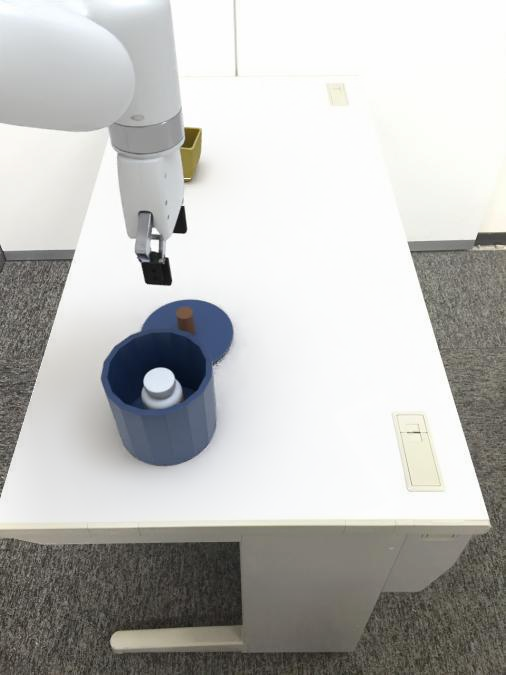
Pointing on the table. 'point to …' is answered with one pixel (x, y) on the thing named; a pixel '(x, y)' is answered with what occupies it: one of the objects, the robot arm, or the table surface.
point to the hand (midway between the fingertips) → (167, 256)
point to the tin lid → (196, 323)
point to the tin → (170, 423)
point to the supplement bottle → (161, 389)
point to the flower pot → (191, 151)
